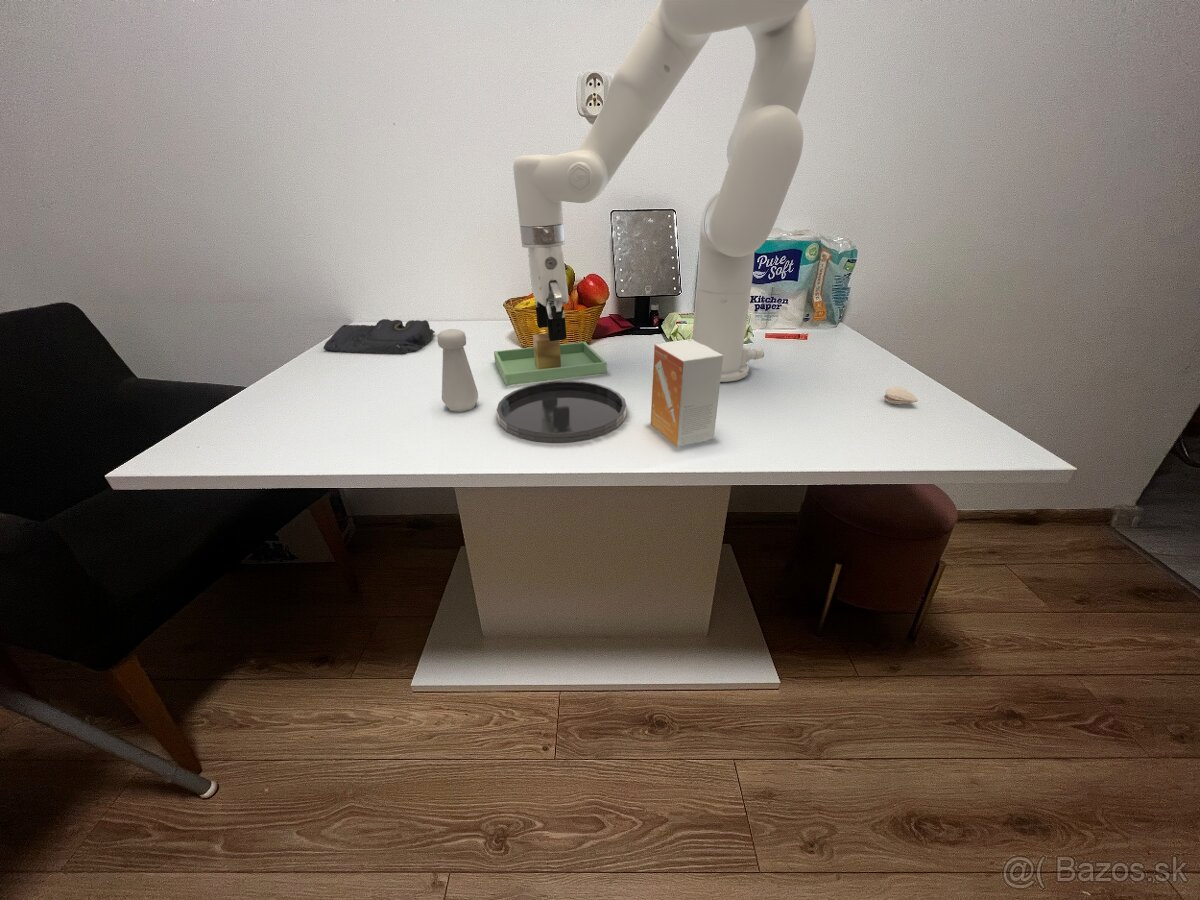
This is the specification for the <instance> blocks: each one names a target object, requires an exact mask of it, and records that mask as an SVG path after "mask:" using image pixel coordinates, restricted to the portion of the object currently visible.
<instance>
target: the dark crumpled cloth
mask: <svg viewBox="0 0 1200 900" xmlns="http://www.w3.org/2000/svg"><path fill="white" fill-rule="evenodd" d="M435 333H436V331H435V330H434V329H432V328H431V327H430V324H429V321H428V320H425V319H424V320H419V319H416V320H415V319H414V320H413V319H412V320H409V321H406V323H405V325H404V324H403V320H400V319H394V320H390V319H389V318H383V319H380V320H378V322H376V324H375V325H372V324H371V325H369V324H343V325H341V326H340V327H339V328H338V329H337V330H336V331H335V332H334V334H332V336H331V337H330V338H329V339H328V340H327V341H326V342H325V343H324V346H323V347H322V348H323V350H325V351H332V352H336V353H351V354H387V355H388V354H389V355H395V354H397V355H402V354H407V353H408V352H410V353H412V352H413V353H414V352H415V353H416V352H418V351H420V350H421V349H423V347H424V346H426V345H428V344H430V342H431V341H432V340H433V337H434V334H435Z"/></svg>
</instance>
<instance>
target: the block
mask: <svg viewBox="0 0 1200 900" xmlns="http://www.w3.org/2000/svg"><path fill="white" fill-rule="evenodd" d="M560 344H561V340H557V341H550V340H549V335H548V333H540V334H539V333H538V334H532V347H534V361H535V366H536V367H537V369H538V370H541V369H549V368H558V367H561V356H560Z"/></svg>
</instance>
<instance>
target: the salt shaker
mask: <svg viewBox="0 0 1200 900" xmlns="http://www.w3.org/2000/svg"><path fill="white" fill-rule="evenodd" d="M436 337H437V339H436V341H437V345H438V347H439V348H441V349H442V367H441V368H442V369H441V370H442V371H441V372H442V373H441V400H442V402H443V404H444V405H445V406H446V407H447V408H448V410H449V411H450V412H456V413H457V412H458V413H464V412H467V411H470V410H474V408H475V406H476V404H477V402H478V400H479V391H478V388H477V385H476V382H475V379H474V375H473V372H472V369H471V365H470V362H469V360H468V357H467V353H466V351H465V348H464V347H465V346H466V345H467V336H466V332H465V331H463V330H461V329H458V328H449V329H443V330H441V331H440V332H438V334H437V335H436Z"/></svg>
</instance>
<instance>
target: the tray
mask: <svg viewBox="0 0 1200 900" xmlns="http://www.w3.org/2000/svg"><path fill="white" fill-rule="evenodd" d="M493 356H494V363H495V366H496V369H497V370H498V372H499V374H500V376H501V377H502V380H503V382H504V384H505V386H514V385H521V384H528V383H529V384H530V383H537V382H546V381H553V380H561V379H570V378H577V377H585V376H595V375H601V374H607V370H608V369H607V368H608V367H607V365H608V364H607V361H605V359H603V358H602V356H601V355H599V353H598V352H596V351H595V350H594V349H593V348H592V347H591V346H590V345H589V344H588V343H587V342H586V341H579V342H569V343H560V356H561V367H558V368H549V369H541V370H538V369H537V367H536V366H535V361H534V347H533V346H530V347H522V348H513V349H503V350H493Z"/></svg>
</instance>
